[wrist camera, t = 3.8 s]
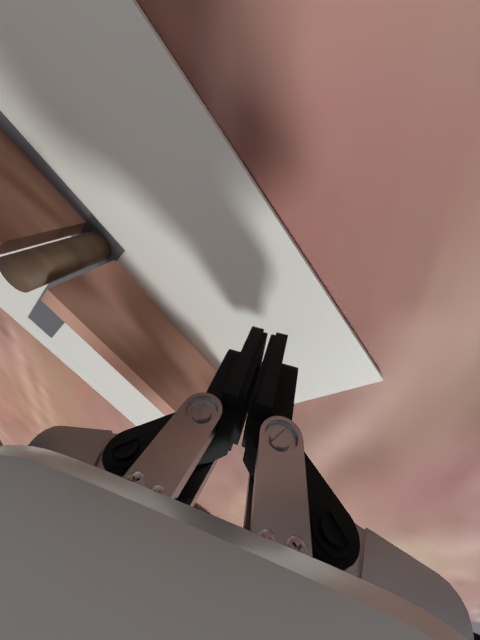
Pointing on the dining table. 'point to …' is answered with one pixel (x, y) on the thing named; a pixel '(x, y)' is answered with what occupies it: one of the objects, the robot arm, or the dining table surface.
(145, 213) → the card
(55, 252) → the base
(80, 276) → the swing panel
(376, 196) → the dining table surface
